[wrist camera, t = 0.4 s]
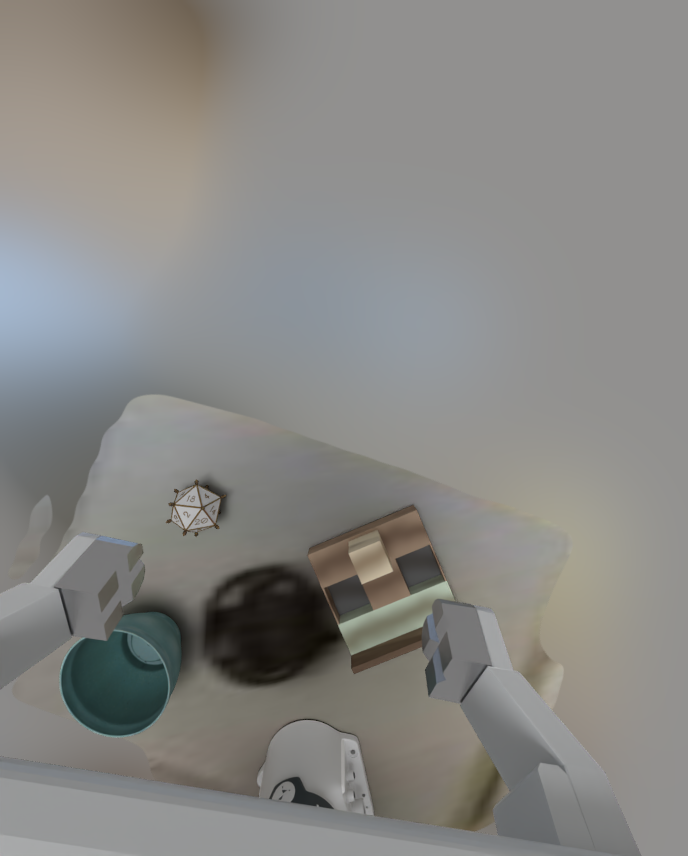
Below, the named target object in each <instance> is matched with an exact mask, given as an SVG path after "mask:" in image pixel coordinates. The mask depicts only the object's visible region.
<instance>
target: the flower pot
mask: <svg viewBox="0 0 688 856" xmlns="http://www.w3.org/2000/svg"><path fill="white" fill-rule="evenodd" d="M180 666H181V635H180V631H179V628H178V626H177V625H176V623H175V622H174V621H173V620H172V619H171V618H170V617H168V616H167V615H165V614H162V613H159V612H146V613H134V614H128V615H124V616H123V617H122V618H121V620H120V621H119V623H118V624H117V626H116V627H115V629H114V631H113V632H112V634H111V635H110V637H109V638H108V640H107V641H104V640H97V639H90V638H84V637H82V638H81V639H80V640H78V641H77V642H76V643H75V644H74V645H73V646H72V647H71V648H70V649H69V651H68V652H67V654H66V655H65V658H64V660H63V662H62V665H61V669H60V676H59V686H60V692H61V696H62V699H63V702H64V704H65V706H66V708H67V710H68V711H69V712H70V714H71V715H72V716H73V718H74V719H75V720H76V721H77V722H78V723H80V724H81V725H82V726H84V727H85V728H87V729H88V730H90V731H92V732H94V733H96V734H99V735H102V736H107V737H117V738H119V737H128V736H133V735H136V734H138V733H141V732H143V731H144V730H146V729H148V728H149V727H150V726H152V725H153V724H154V723H155V722H156V721H157V720H158V719H159V717H160V716H161V714H162V713H163V711H164V709H165V707H166V705H167V703H168V701H169V698H170V696H171V694H172V692H173V690H174V687H175V685H176V682H177V679H178V676H179V672H180Z"/></svg>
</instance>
